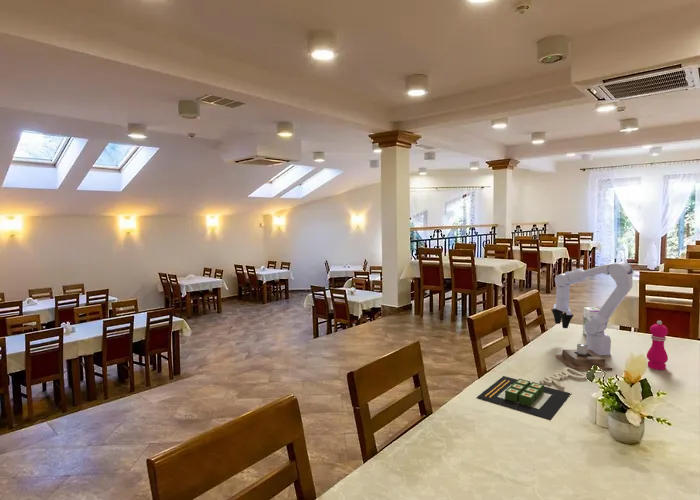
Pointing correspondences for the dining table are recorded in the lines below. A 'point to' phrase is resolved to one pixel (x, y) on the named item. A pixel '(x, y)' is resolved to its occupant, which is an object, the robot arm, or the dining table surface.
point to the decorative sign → (563, 377)
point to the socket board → (582, 360)
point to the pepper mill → (657, 347)
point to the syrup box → (588, 316)
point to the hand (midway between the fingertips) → (561, 325)
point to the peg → (582, 350)
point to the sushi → (525, 396)
